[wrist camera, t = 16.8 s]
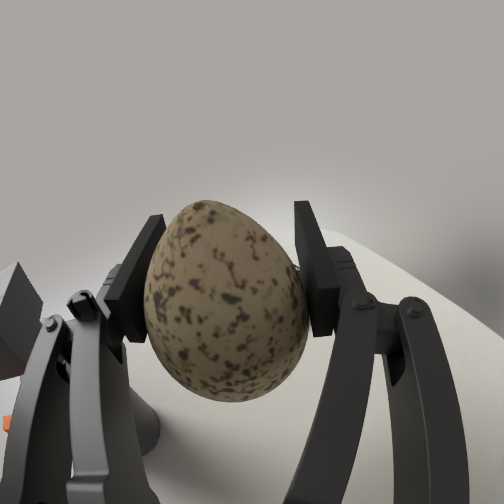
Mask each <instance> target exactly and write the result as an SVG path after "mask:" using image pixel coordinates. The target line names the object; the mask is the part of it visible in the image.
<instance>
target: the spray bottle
mask: <svg viewBox="0 0 504 504" xmlns="http://www.w3.org/2000/svg"><path fill="white" fill-rule="evenodd" d="M42 306H43V301H42V300H41V298H40V297H39V295H38V294H37V292H36V291H35V289H34V287H33V286H32V284H31V283H30V281H29V279H28V278H27V276H26V274H25V273H24V271H23V269H22V267H21V266H20V264H19V262H17V263H15V264H13V265H11V266H9V267H7V268H5V269H3V270H1V271H0V381H1V380H5V379H9V378H13V377H17V376H20V380H21V381H22V378H23V375H24V372H25V369H26V366H27V363H28V360H29V357H30V355H31V352H32V349H33V347H34V344H35V342H36V339H37V337H38V334H39V332H40V330H41V327H42V325H43V324H44V322H45V321H46V320H47V319H48V318H41V319H40V316H41V311H42ZM58 361H59V362H60V363H61V364H62V363H63V361H64V359H63V358H62V357H61V356H60V355H59V358H58ZM129 387H130V386H129ZM130 395H131V402H132V409H133V415H134V421H135V427H136V432H137V438H138V443H139V447H140V452H141V456H142V455H145V454H146V453H148V452H149V451H151V450H152V449H153V448H154V446H155V445H156V443H157V441H158V439H159V436H160V422H159V419H158V416H157V415H156V413H155V412H154V410H153V409H152V408H151V407H150V406H149V405H148V404H147V403H146V402H145V401H144V400H143V399H142V398H141V397H140V396H139V395H138V394H137V393H136V392H135V391H134V390H133V389H132V388H131V387H130Z"/></svg>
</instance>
